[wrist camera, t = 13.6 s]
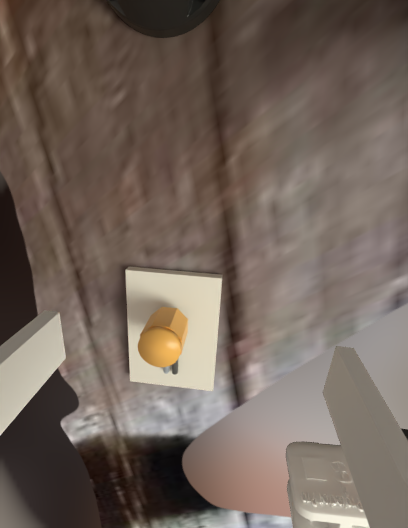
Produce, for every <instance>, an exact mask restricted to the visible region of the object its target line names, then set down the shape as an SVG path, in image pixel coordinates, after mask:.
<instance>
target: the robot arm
mask: <svg viewBox="0 0 408 528" xmlns="http://www.w3.org/2000/svg"><path fill="white" fill-rule="evenodd" d="M106 1H107V2H108V4H109V5H110V6H111V7H112V9H113V10H114V11H115V12H116V14H117V15H118V16H119V17H120V18H121V19H122V20H123V21H124V22H125V23H126V24H127V25H129V26H130V27H132V28H133V29H135V30H136V31H138V32H140V33H143V34H145V35H148V36H152V37H160V38H167V37H174V36H178V35H181V34H184V33H186V32H188V31H190V30H192V29H193V28H195V27H196V26H198V25H199V24H200V23H202V22H203V21H204V20H205V19H206V18H207V17H208V16H209V15H210V13H211V12H212V11H213V10H214V8H215V7H216V5H217V4H218V2H219V0H106ZM65 358H66V356H65V349H64V342H63V335H62V328H61V320H60V313H59V312H52V311H43V312H42V313H41V314H40V315H38V316H37V317H36V318H35V319H33V320H32V321H31V322H30V323H29V324H27V325H26V326H25V327H24V328H22V329H21V330H20V331H19V332H17V333H16V334H15V335H14V336H12V337H11V338H10V339H9V340H8V341H6V342H5V343H4V344H3V345H1V346H0V435H1V434H2V433H3V431H4V430H5V429H6V428H7V427H8V425H9V424H10V423H11V422H12V421H13V420H14V418H15V417H16V416H17V415H18V414H19V412H20V411H21V410H22V409H23V408H24V406H25V405H26V404H27V403H28V402H29V401H30V399H31V398H32V397H33V396H34V395H35V394H36V392H37V391H38V390H39V389H40V388H41V386H42V385H43V384H44V383H45V382H46V380H47V379H48V378H49V377H50V376H51V375H52V373H53V372H54V371H55V370H56V369H57V368H58V366H59V365H60V364H61V363H62V362H63V361H64V359H65ZM323 395H324V398H325V400H326V404H327V406H328V409H329V412H330V415H331V418H332V421H333V424H334V426H335V429H336V432H337V435H338V438H339V441H340V443H341V447H342V449H343V452H344V455H345V458H346V461H347V464H348V467H349V470H350V472H351V475H352V478H353V481H354V484H355V487H356V490H357V492H358V495H359V498H360V501H361V504H362V507H363V510H364V512H365V515H366V518H367V521H368V524H369V527H370V528H408V430H407V429H401V428H400V427H399V425H398V423H397V421H396V420H395V418H394V416H393V414H392V413H391V411H390V409H389V408H388V406H387V404H386V403H385V401H384V399H383V397H382V396H381V394H380V392H379V391H378V389H377V387H376V386H375V384H374V382H373V380H372V379H371V377H370V375H369V374H368V372H367V370H366V369H365V367H364V365H363V363H362V362H361V360H360V358H359V357H358V355H357V354H356V351H355V350H354V348H348V347H340V346H336V348H335V351H334V355H333V358H332V362H331V365H330V369H329V372H328V376H327V379H326V383H325V387H324V390H323Z"/></svg>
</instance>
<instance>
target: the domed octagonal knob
mask: <svg viewBox="0 0 408 528" xmlns="http://www.w3.org/2000/svg"><path fill="white" fill-rule="evenodd" d="M187 333H188V319H187V318H186V317H185V315H184V314H183V313H182V312H181V311H180V310H179V309H178V308H170V307H161V308H160V309H158V310H157V311H156V312H155V313H153V314H152V315H151V316H150V318H149V320H148V322H147V323H146V325H145V327H144V329H143V330H142V332H141V334H140V339H139V342H138V352H139V354H140V356H141V357H142V359H143V360H144V361H146V362H147V363H148V364H150V365H152V366H156V367H167V366H170V365H172V364H174V363H175V362H176V361H177V360H178V358H179V356H180V355H181V354H182V350H183V347H184V343H185V340H186V336H187Z"/></svg>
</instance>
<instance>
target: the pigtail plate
mask: <svg viewBox="0 0 408 528" xmlns="http://www.w3.org/2000/svg"><path fill="white" fill-rule="evenodd" d="M125 271H126V295H127V319H128V342H129V366H130V381H134V382H142V383H150V384H158V385H167V386H175V387H183V388H191V389H199V390H208V391H213V386H214V374H215V361H216V349H217V336H218V324H219V311H220V298H221V286H222V275H220V274H209V273H197V272H186V271H175V270H163V269H152V268H140V267H128V268H127V269H126V270H125ZM161 307H170V308H178V309H179V310H180V311H181V312H182V313H183V314H184V315H185V317H186V318H187V319H188V333H187V336H186V340H185V343H184V347H183V350H182V354H181V355H180V356H179V358H178V360H177V361H176V362H175V363H174V364H172V365H170V366H167V367H156V366H152V365H150V364H148V363H147V362H146V361H144V360H143V359H142V357H141V356H140V354H139V352H138V342H139V339H140V334H141V332H142V330H143V329H144V327H145V325H146V323H147V322H148V320H149V318H150V316H151V315H152V314H153V313H155V312H156V311H157V310H158V309H160V308H161Z"/></svg>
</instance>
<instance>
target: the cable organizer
mask: <svg viewBox="0 0 408 528" xmlns="http://www.w3.org/2000/svg"><path fill="white" fill-rule="evenodd" d="M286 460H287V466H288V472H289V477H290V479H289V481H288V485H287V491H288V497H289V505H290V511H291V517H292V524H293V528H370V527H369V524H368V521H367V518H366V515H365V512H364V510H363V507H362V504H361V501H360V498H359V495H358V492H357V490H356V487H355V484H354V481H353V478H352V475H351V472H350V470H349V467H348V464H347V461H346V458H345V455H344V452H343V449H342V447H341V445H330V444H319V443H314V442H313V443H312V442H293V443H291V444H289V445H288V446H287V449H286Z"/></svg>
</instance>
